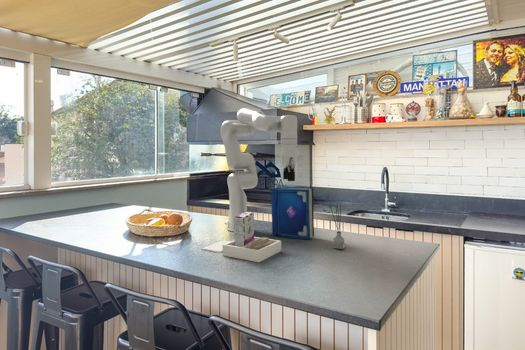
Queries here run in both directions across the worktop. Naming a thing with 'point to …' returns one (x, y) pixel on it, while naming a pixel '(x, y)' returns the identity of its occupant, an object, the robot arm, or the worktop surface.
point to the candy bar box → (244, 229)
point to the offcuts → (260, 243)
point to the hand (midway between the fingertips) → (288, 180)
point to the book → (292, 212)
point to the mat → (216, 247)
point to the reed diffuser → (338, 234)
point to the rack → (251, 251)
